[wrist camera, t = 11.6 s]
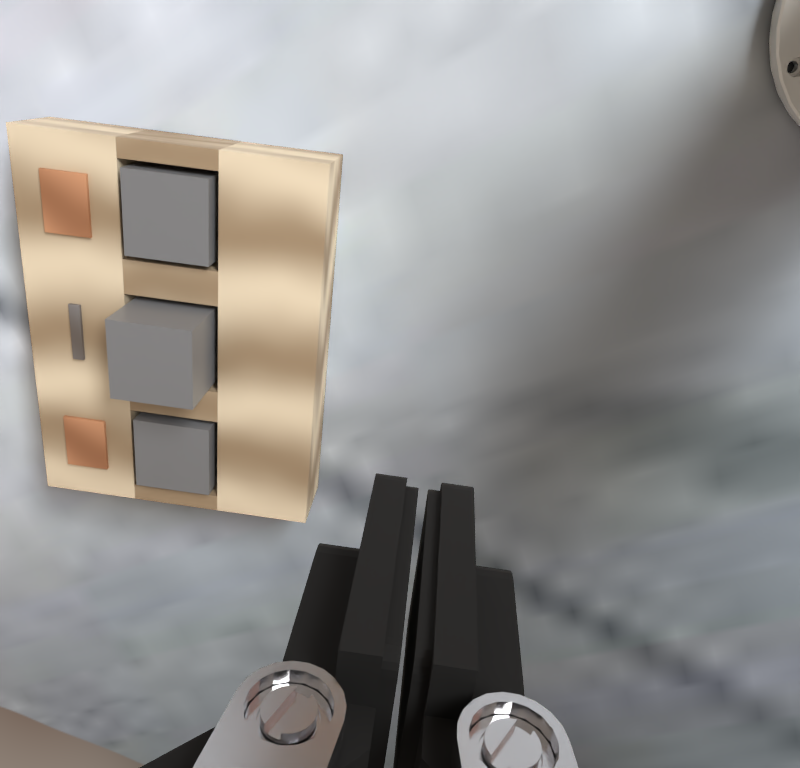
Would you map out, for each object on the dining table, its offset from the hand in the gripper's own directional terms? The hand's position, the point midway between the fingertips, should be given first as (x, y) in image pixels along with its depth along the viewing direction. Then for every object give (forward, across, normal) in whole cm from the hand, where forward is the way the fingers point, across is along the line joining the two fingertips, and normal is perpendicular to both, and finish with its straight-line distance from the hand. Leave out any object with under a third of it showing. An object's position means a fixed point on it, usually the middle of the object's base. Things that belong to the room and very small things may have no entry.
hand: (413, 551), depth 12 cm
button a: (+29, +14, +1) cm, 32 cm away
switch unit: (+29, +14, +8) cm, 33 cm away
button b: (+26, +14, +8) cm, 31 cm away
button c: (+29, +14, +15) cm, 35 cm away
